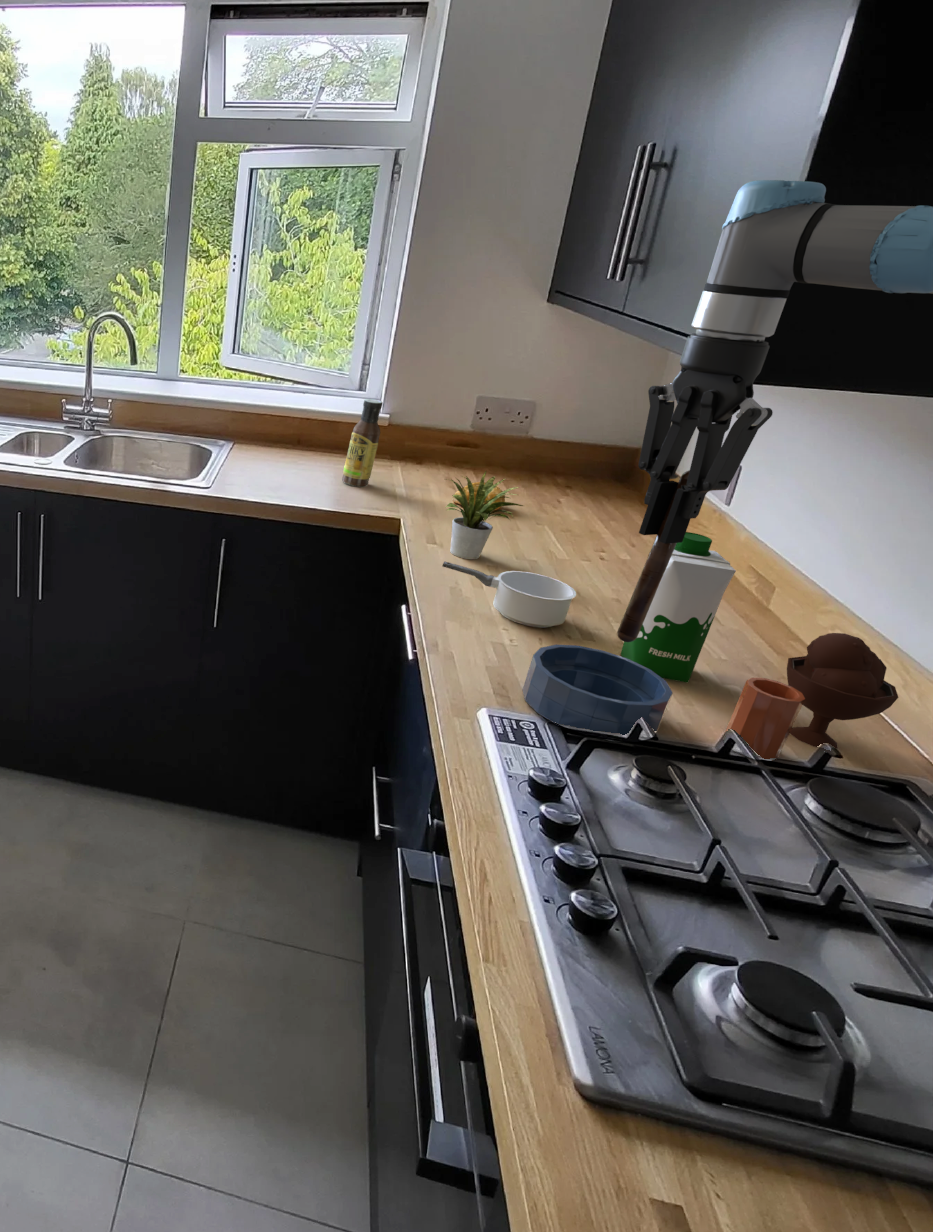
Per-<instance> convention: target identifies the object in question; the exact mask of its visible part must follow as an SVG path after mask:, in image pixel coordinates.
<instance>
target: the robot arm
mask: <svg viewBox="0 0 933 1232" xmlns="http://www.w3.org/2000/svg"><path fill="white" fill-rule="evenodd" d="M826 192H827V187H826V186H825V185H824V184H823V183H821V182H818V181H817V182H816V181H807V180H806V181H805V180H783V179H782V180H781V179H780V180H779V179H759V180H752V181H748V182H746V183H744V184H743V185H742V186H740V188H739V189H738V191H737V192H736V194H735V196H734V200H733V202H732V205H731V207H730V209H729V212H728V214H727V217H726V220H725V222H724V223H723V224H722V227H721V234H720V237H719V241H718V244H717V247H716V251H715V253H714V256H713V260H712V263H711V267H710V270H709V273H708V276H707V280H706V282H705V285H704V287H703V290H702V293H701V295H700V299H699V301H698V304H697V306H696V307H697V308H696V310H695V313H694V315H693V319H692V322H691V324H690V326H691V327H692V328H693V329H695V333H694V332H693V333H691V334H690V335H688V336H687V338H686V341H685V344H684V347H683V351H682V354H681V356H680V360H679V365H680V367H681V368H680V370H679V372H678V373H677V375H676V376H675V377H674V378H673V380H672V382H670V383H667V384H664V385H651V386H650V387H649V388H648V391H647V392H648V393H647V394H648V401H649V410H648V414H647V420H646V424H645V430H644V434H643V441H642V445H641V449H640V454H639V459H638V468H639V469H640V470H641V471H645V472H646V473H647V474H648V475H649V477H650V481H649V484H648V487H647V490H646V493H645V495H644V498H643V499H644V500H643V501H644V505H646V506H647V507H646V510H645V513H644V516H643V518H642V522H641V525H640V528H639V530H638V534H640V535H641V536H642V535H643V536H654V535H656V536H657V534H658V531H659V529H660V526H661V524H662V521H663V519H664V516H665V514H666V512H667V509H668V507H669V504H670V502H671V499H672V497H673V495H674V492H675V490H676V487H677V485H678V482H679V481H675V479H678V477H679V475H677V474H676V473H677V470H678V468H679V466H680V464H681V461H682V459H683V457H684V455H685V453H686V451H687V449H688V446H689V444H690V442H691V440H692V438H693V435H694V434H695V431H696V429H697V430H698V434H697V438H696V442H695V446H694V451H693V455H692V459H691V463H690V467H689V470H690V471H689V470H688V471H689V475H688V480H687V484H686V485H681V488H678V489H677V492H676V495H675V498H674V501H673V504H672V507H671V510H670V512H669V515H668V518H667V521H666V524H665V527H664V530H663V533H662V536H661V538H660V542H662V543H665V544H667V543H682V541H683V539H684V536H685V533H686V532H687V531H688V527H689V525H690V521H691V520H692V519H696V518H697V517H698V516H699V514H700V512H701V509H702V506H703V503H704V500H705V497H706V495H707V494H708V493H710V492H712V491H726V490H727V489H728V488H729V487H730V485H731V483H732V481H733V479H734V477H735V475H736V473H737V471H738V469H739V467H740V465H741V463H742V462H743V460H744V458H745V456H746V454H747V452H748V450H749V448H750V446H751V444H752V442H753V441H754V439H755V437H756V435H757V433H758V431H759V429H760V428H761V427H762V426H763V425H765V424H766V422H767V421H768V420H769V419H770V418H772V417H773V413H774V411H773V409H772V408H770V407H763V406H761V405H760V403H758V402H757V401H756V400H755V399H754V398H753V397H754V394H755V392H754V382H755V380H756V378H757V377H758V376H759V375H760V373H761V372H762V369H763V366H764V364H765V361H766V359H767V355H768V352H769V349H770V347H771V346H770V345H769V342H768V341H765V340H766V338H769V337H772V336H773V335H775V332H776V329H777V327H778V324H779V322H780V318H781V315H782V312H783V311H784V307H785V305H786V302H787V299H788V297H789V295H790V292H791V288H792V286H793V284H794V283H799V284H816V285H822V286H823V285H825V286H834V287H840V288H841V287H843V288H851V289H862V290H872V291H882V292H884V293H888V294H893V293H895V294H907V293H911V294H932V295H933V206H931V205H928V204H926V205H916V206H915V205H914V206H913V205H911V206H910V205H857V204H856V205H854V204H853V205H849V204H847V205H846V204H845V205H844V204H838V203H836V204H835V203H830V202H829V203H828V202H825V201H826V199H825V196H826ZM675 402H676V406H675ZM733 415H735V418H736V420H735V421H734V423H733V424H732V425H731V423H732V419H733ZM730 427H731V428H730ZM726 432H728V433H727V435H726V437H725V434H726ZM724 438H725V439H724Z"/></svg>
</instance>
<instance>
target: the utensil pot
mask: <svg viewBox="0 0 933 1232" xmlns="http://www.w3.org/2000/svg"><path fill="white" fill-rule="evenodd" d="M804 701H805V697H804V695H803V694H802V693H801V692H800V691H798V690H796V689H795V688H793V687H791V686H789V685H788V684H787V683H784V682H781V681H779V680H774V679H771V678H766V677H750V678H748V679H746V681H745V683H744V685H743V688H742V690H741V692H740V695H739V698H738V700H737V703H736V705H735V707H734V709H733V711H732V714H731V717H730V719H729V721H728V724H727V726H726V728H725V730H724V733H725V732H726V731H728V729H733V730H735V731H736V732H737V733H738V734H739V735H741V737H743V739H744V740H745V741H746V742H747V743H748V744H749V746H750V747H751V748H752V749H753V750H754V751H755V752H756V753H757V754H758V755H760V756H761V757H762V758H764V759H770V758H778V759H779V757H780V756H781V753H782V751H783V748H784V746H785V745H786V742H787V740H788V738H789V735H790V734H789V733H790V731H791V729H792V728H793V727H794V725H795V723H796V720H797V718H798V716H799V714H800V712H801V709H802V707H803V706H804V705H803V703H804Z"/></svg>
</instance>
